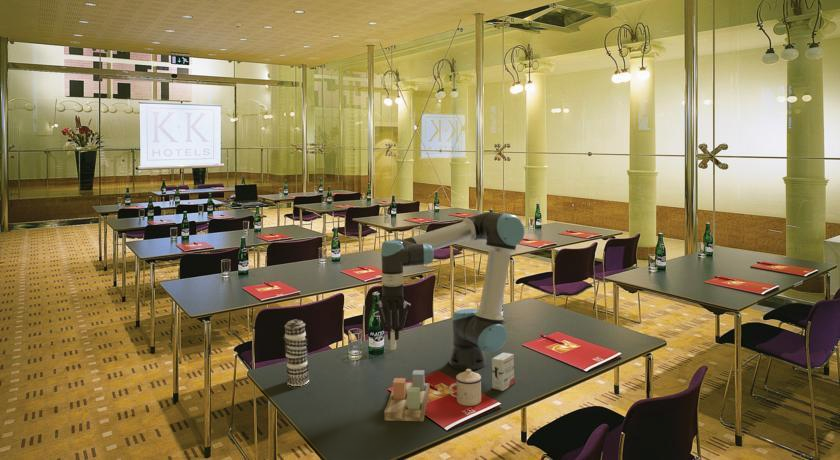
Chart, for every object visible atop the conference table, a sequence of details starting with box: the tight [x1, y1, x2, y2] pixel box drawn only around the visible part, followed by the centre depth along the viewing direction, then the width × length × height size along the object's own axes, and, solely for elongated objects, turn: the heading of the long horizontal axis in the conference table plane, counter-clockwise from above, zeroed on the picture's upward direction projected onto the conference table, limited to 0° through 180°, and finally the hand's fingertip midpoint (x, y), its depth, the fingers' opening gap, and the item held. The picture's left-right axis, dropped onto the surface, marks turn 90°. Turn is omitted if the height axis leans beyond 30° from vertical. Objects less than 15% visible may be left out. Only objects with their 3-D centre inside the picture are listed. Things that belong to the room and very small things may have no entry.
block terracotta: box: [392, 377, 407, 400], centre depth 198 cm, size 4×4×6 cm
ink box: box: [491, 352, 515, 392], centre depth 211 cm, size 8×5×12 cm, turn 140°
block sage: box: [407, 387, 421, 410], centre depth 190 cm, size 4×4×6 cm
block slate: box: [411, 369, 426, 391], centre depth 204 cm, size 4×4×6 cm
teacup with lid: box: [448, 369, 483, 407], centre depth 199 cm, size 12×9×12 cm
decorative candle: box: [283, 318, 310, 387], centre depth 219 cm, size 9×9×25 cm
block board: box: [383, 382, 431, 422], centre depth 198 cm, size 13×24×3 cm, turn 174°
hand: (393, 348), depth 201 cm, fingers closed
